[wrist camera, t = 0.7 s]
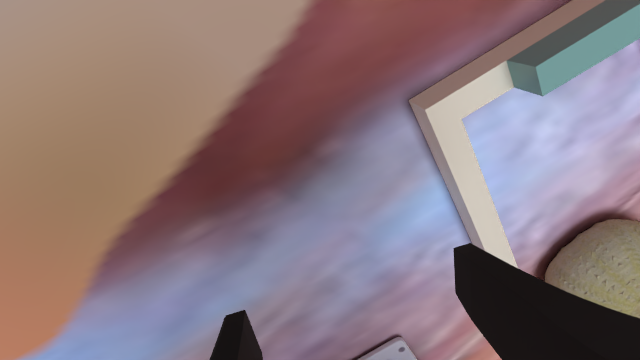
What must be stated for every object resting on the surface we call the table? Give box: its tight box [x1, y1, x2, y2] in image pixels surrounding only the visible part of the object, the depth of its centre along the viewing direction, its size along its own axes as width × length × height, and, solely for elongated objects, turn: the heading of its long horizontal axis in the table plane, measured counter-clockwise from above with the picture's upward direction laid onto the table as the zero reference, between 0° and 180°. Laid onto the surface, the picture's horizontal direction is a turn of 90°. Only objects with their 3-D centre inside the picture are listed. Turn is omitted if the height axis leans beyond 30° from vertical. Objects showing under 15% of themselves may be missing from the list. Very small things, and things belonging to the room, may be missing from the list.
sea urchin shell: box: [545, 219, 640, 318], centre depth 27 cm, size 9×8×8 cm
